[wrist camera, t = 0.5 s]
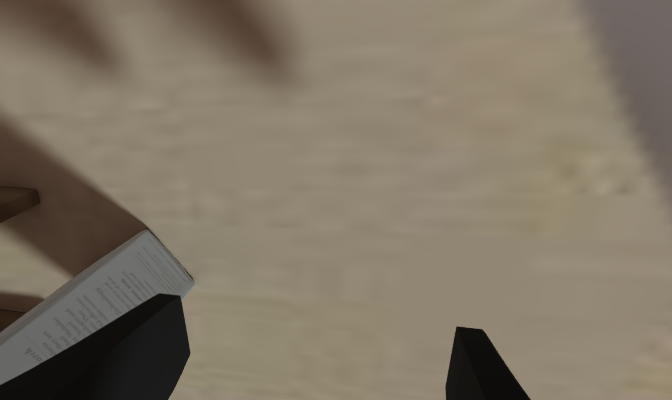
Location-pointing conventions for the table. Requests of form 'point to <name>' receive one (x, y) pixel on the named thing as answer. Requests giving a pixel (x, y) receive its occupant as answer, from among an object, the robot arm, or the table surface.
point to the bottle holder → (4, 206)
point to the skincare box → (91, 302)
